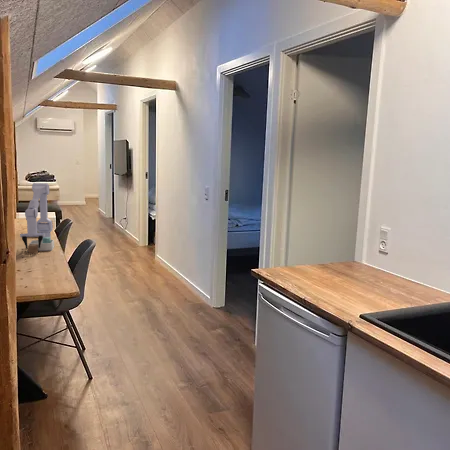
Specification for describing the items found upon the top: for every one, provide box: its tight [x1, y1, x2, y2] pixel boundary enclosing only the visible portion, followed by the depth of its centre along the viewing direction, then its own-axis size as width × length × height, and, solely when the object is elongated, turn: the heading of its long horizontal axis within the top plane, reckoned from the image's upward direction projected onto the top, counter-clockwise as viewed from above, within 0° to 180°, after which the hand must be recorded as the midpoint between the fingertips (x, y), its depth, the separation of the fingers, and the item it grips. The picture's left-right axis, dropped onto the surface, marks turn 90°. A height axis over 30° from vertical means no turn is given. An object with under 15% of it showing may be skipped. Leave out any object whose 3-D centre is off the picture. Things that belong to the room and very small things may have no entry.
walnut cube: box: [27, 243, 39, 254], centre depth 290 cm, size 5×5×5 cm
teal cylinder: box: [42, 237, 51, 243], centre depth 301 cm, size 5×5×7 cm
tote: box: [28, 239, 55, 252], centre depth 300 cm, size 12×14×5 cm
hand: (33, 247), depth 290 cm, fingers open, 7 cm apart
